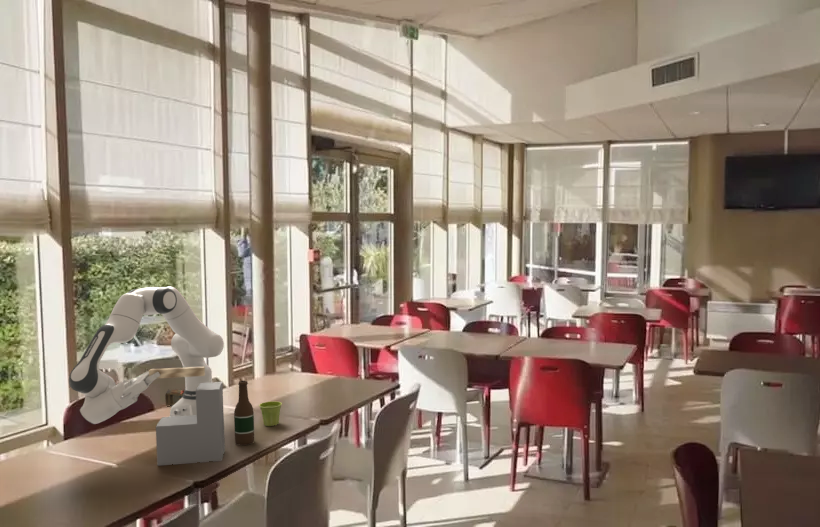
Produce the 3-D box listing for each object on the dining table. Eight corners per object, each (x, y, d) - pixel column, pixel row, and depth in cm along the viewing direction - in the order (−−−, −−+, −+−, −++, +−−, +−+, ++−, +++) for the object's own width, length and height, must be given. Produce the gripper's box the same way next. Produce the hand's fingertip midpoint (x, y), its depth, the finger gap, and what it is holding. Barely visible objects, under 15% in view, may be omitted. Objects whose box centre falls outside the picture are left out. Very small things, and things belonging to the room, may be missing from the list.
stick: (149, 378, 247) (148, 370, 246) (150, 377, 249) (150, 369, 249) (204, 375, 250) (203, 367, 250) (205, 374, 252) (204, 366, 252)
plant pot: (275, 428, 286) (274, 407, 286) (255, 426, 289) (254, 406, 289) (286, 422, 295) (285, 402, 295) (267, 420, 298) (266, 400, 298)
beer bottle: (249, 445, 264) (247, 383, 263) (231, 444, 266) (228, 383, 264) (258, 439, 272) (256, 379, 270) (239, 438, 273) (237, 378, 272)
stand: (157, 465, 244) (154, 392, 243) (163, 454, 256) (160, 385, 254) (221, 460, 248) (219, 389, 246) (224, 450, 260) (222, 381, 258)
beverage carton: (207, 403, 329) (206, 390, 329) (164, 406, 326) (164, 392, 326) (209, 399, 337) (208, 386, 337) (168, 402, 334) (167, 388, 333)
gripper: (113, 392, 236) (149, 370, 238) (127, 379, 256) (160, 359, 258) (124, 407, 237) (160, 385, 238) (137, 393, 257) (170, 373, 259)
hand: (160, 372), depth 248 cm, fingers closed on stick, 2 cm apart
